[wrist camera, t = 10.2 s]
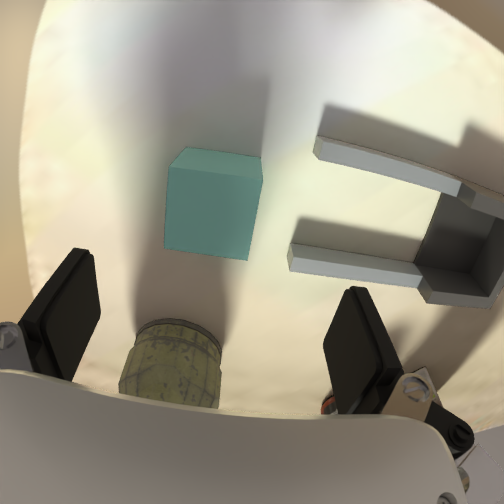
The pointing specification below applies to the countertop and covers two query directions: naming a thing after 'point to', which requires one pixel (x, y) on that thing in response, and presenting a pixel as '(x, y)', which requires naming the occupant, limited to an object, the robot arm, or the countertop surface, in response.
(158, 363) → the thermos
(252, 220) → the teal block
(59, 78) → the countertop surface
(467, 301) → the channel
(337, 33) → the countertop surface
